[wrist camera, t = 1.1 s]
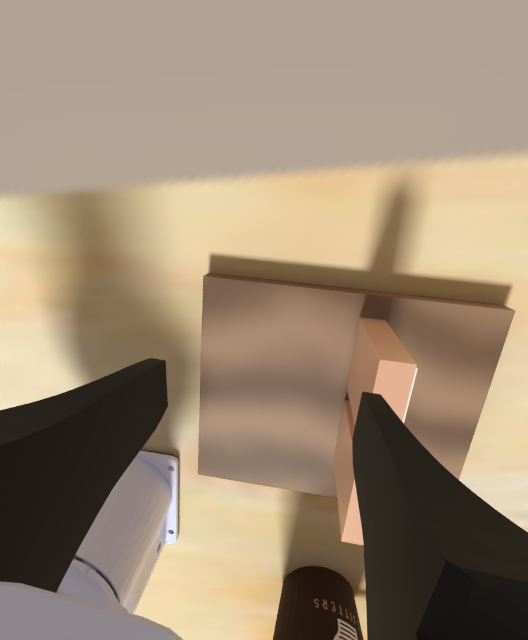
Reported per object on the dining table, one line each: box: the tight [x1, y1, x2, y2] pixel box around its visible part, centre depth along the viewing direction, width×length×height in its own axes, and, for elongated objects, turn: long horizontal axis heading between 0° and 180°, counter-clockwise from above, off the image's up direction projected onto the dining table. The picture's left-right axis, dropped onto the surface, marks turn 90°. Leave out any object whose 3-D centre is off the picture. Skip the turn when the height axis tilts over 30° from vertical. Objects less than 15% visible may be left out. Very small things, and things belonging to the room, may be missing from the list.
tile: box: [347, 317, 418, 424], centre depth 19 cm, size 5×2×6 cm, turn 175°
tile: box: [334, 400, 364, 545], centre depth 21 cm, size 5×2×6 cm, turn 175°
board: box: [198, 273, 515, 498], centre depth 24 cm, size 16×19×1 cm
